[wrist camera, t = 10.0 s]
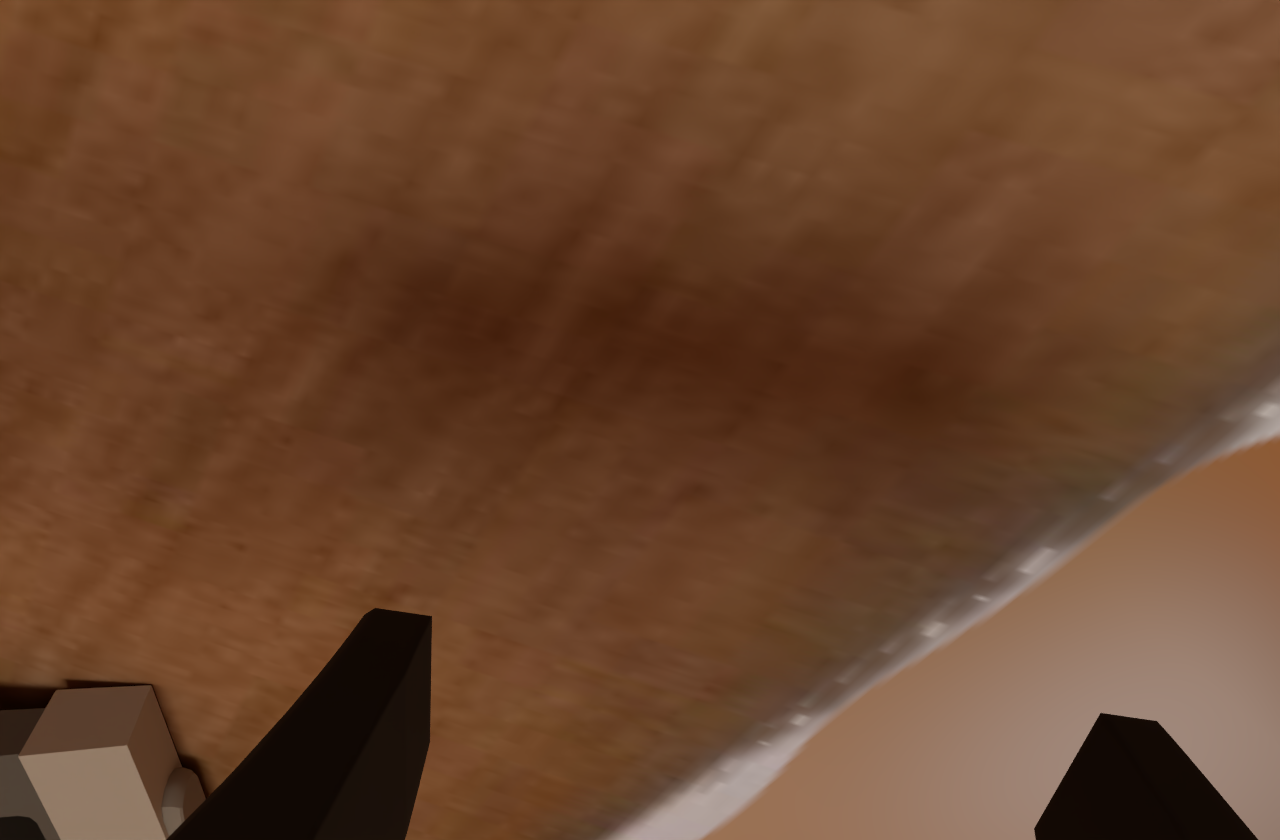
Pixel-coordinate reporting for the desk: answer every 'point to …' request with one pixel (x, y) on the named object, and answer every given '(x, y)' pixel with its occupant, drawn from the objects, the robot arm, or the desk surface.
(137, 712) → the alarm clock
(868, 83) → the desk surface
